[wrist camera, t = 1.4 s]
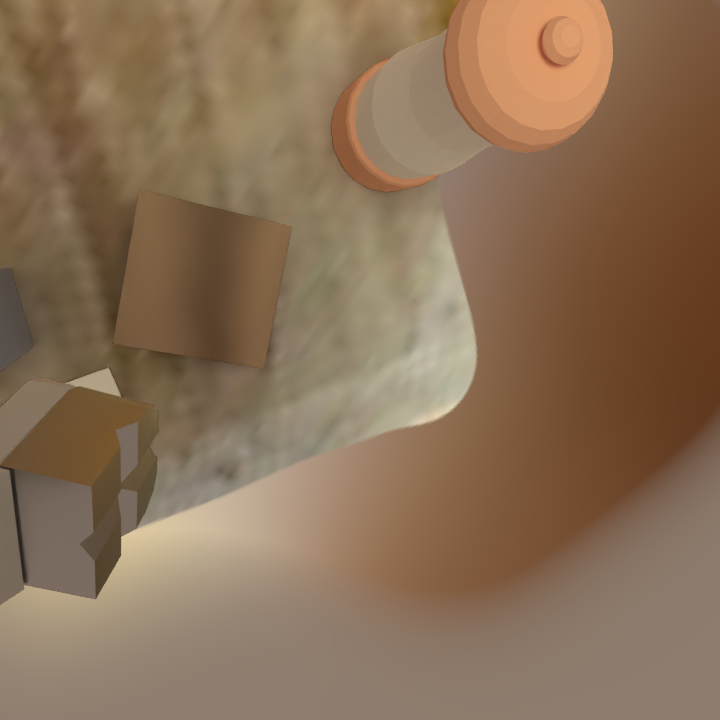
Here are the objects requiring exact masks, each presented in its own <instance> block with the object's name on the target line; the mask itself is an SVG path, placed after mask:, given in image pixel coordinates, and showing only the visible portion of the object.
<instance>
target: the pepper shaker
mask: <svg viewBox="0 0 720 720" xmlns="http://www.w3.org/2000/svg"><path fill="white" fill-rule="evenodd" d="M612 60H613V48H612V31H611V28H610V25H609V21H608V18H607V15H606V11H605V8H604V6H603V5H602V3H601V2H600V0H459V2H458V4H457V6H456V8H455V10H454V12H453V14H452V16H451V18H450V21H449V24H448V28H447V29H446V30H445V31H444V32H442V33H441V34H440V35H438V36H436V37H434V38H431V39H428V40H425V41H422V42H419V43H417V44H414V45H412V46H410V47H407V48H405V49H403V50H401V51H398V52H397V53H396V54H395V55H394V56H393V57H392V58H389V59H386V60H384V61H382V62H380V63H377V64H375V65H373V66H371V67H370V68H369V69H368V70H367V71H366V72H364V73H363V74H362V75H361V76H360V77H359V78H358V79H356V80H355V81H354V82H353V83H352V84H351V85H350V86H349V87H348V88H347V89H346V90H345V91H344V92H343V93H342V95H341V97H340V99H339V101H338V103H337V105H336V107H335V109H334V114H333V120H332V126H331V131H332V139H333V146H334V149H335V152H336V154H337V156H338V158H339V161H340V163H341V165H342V166H343V167H344V169H345V170H346V171H347V172H348V173H349V174H350V176H351V177H352V178H353V179H354V180H356V181H357V182H359V183H361V184H362V185H364V186H366V187H367V188H369V189H374V190H378V191H382V192H390V191H399V190H404V189H408V188H412V187H416V186H420V185H422V184H424V183H426V182H428V181H430V180H432V179H434V178H436V177H438V176H439V175H440V174H442V173H446V172H448V171H450V170H452V169H454V168H456V167H458V166H460V165H462V164H464V163H465V162H466V161H468V160H469V159H471V158H472V157H473V156H475V155H476V154H478V153H479V152H480V151H482V150H483V149H485V148H487V147H490V146H493V145H496V146H499V147H503V148H506V149H510V150H514V151H517V152H521V153H524V152H534V151H543V150H547V149H549V148H551V147H553V146H554V145H557V144H559V143H561V142H563V141H564V140H567V139H568V138H569V137H571V136H572V135H573V134H574V133H576V132H577V131H578V130H579V129H580V127H581V126H582V125H583V124H584V123H585V122H586V121H587V120H588V119H589V118H590V117H591V116H592V115H593V114H594V112H595V110H596V108H597V106H598V104H599V102H600V100H601V98H602V96H603V94H604V92H605V90H606V86H607V83H608V79H609V74H610V70H611V65H612Z"/></svg>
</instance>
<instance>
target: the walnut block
mask: <svg viewBox="0 0 720 720" xmlns="http://www.w3.org/2000/svg"><path fill="white" fill-rule="evenodd" d="M291 229H292V227H291V226H287V225H283V224H279V223H275V222H271V221H267V220H263V219H258V218H254V217H250V216H246V215H242V214H238V213H234V212H229V211H225V210H221V209H217V208H213V207H209V206H205V205H201V204H196V203H192V202H188V201H184V200H180V199H176V198H172V197H167V196H163V195H159V194H155V193H151V192H147V191H143V190H139V194H138V200H137V206H136V211H135V217H134V223H133V229H132V234H131V240H130V246H129V252H128V257H127V263H126V269H125V275H124V280H123V286H122V292H121V298H120V303H119V309H118V315H117V321H116V326H115V332H114V338H113V344H116V345H122V346H128V347H134V348H140V349H146V350H153V351H159V352H165V353H171V354H177V355H183V356H189V357H195V358H201V359H207V360H213V361H219V362H225V363H231V364H237V365H243V366H249V367H256V368H262V369H264V365H265V360H266V355H267V350H268V345H269V340H270V335H271V330H272V325H273V320H274V315H275V310H276V305H277V300H278V295H279V289H280V284H281V279H282V274H283V269H284V264H285V259H286V254H287V249H288V244H289V239H290V234H291Z"/></svg>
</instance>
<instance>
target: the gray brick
mask: <svg viewBox="0 0 720 720" xmlns="http://www.w3.org/2000/svg"><path fill="white" fill-rule="evenodd" d="M32 347H33V344H32V340H31V337H30V333H29V330H28V326H27V323H26V320H25V316H24V313H23V309H22V306H21V302H20V299H19V295H18V292H17V288H16V285H15V282H14V278H13V275H12V271H11V268H5V269H0V371H1V370H2V369H4V368H5V367H6V366H8V365H9V364H10V363H12V362H13V361H14V360H16V359H17V358H18V357H20V356H21V355H22V354H24V353H25V352H26V351H28V350H29V349H30V348H32Z"/></svg>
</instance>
